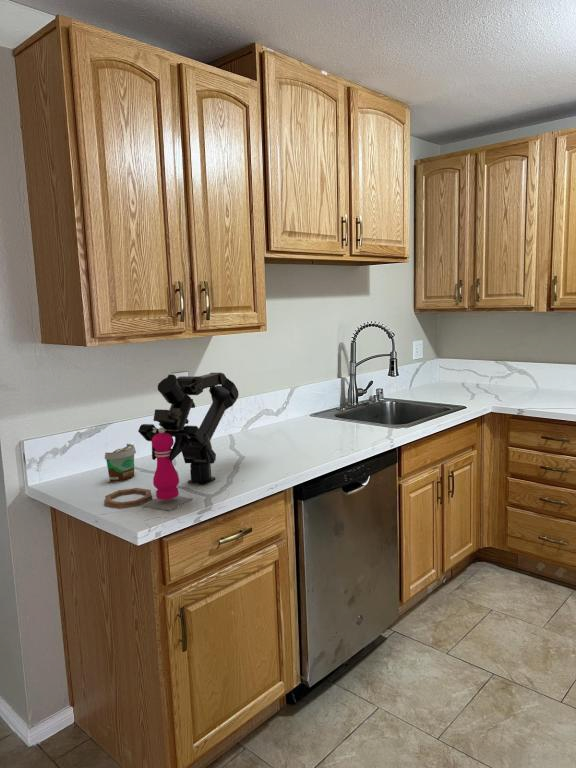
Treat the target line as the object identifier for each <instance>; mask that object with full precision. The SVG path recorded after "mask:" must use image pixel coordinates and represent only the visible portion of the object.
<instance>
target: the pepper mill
mask: <svg viewBox="0 0 576 768" xmlns="http://www.w3.org/2000/svg"><path fill="white" fill-rule="evenodd" d="M158 429H159V430H158V431H159V433H158V434H156V435H155V436H154V437H153V439H152V442H151V447H152V446H153V448H154V449H155V451H154V452H155V456H156V469H155V472H154V476H153V480H152V484H153V486H154V488H156V490H155V497H156V498H158V499H162V500H166V499H172V498H175V497H177V496H180V495H179V488H178V485H179V483H180V476H179V474H178V472H177V469H176V468H175V466H174V463H173V460H172V461H170V460H169V457H170V453H171V450H172V448H173V445H174V442H175V440H174V437H172V436H171V435H170V434H169V433H165V429H164V428H163V427H159V428H158Z"/></svg>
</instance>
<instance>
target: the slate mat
mask: <svg viewBox="0 0 576 768" xmlns="http://www.w3.org/2000/svg"><path fill="white" fill-rule="evenodd" d="M192 499H194V498H193V497H186V496H181V495H178V496H177V497H175V498H172V499H166V500H162V499H158V498H157V497H156V498H155V499H152V500H150V501H148V502H146V503H144V504H141V506H142V507H143V508H148V509H154V508H155V510H160V509H162V510H161V511H166V510H168V511H167V512H172V511H173V509H174V510H175V508H176V509H177V507H178V506H179V507H181V506H183V505H185V504H187V503H189V502H191V501H192ZM190 500H191V501H190ZM188 501H189V502H188ZM186 502H187V503H186ZM184 503H185V504H184ZM182 504H183V505H182ZM180 505H181V506H180ZM179 507H178V508H179ZM171 510H172V511H171Z"/></svg>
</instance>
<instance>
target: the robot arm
mask: <svg viewBox="0 0 576 768" xmlns="http://www.w3.org/2000/svg"><path fill="white" fill-rule="evenodd" d="M208 388H209V390H208V392H209V394H210V395H211V396H210V397H211V400H212V403H211V405H210V407H209V408H208V410H207V412H206V414H205V415H204V416H205V417H204V418H203V420H202V422H201V424H200V426H199V427H198V426H197V425H189V422H190V420H189V419H188V417H189V415H190V413H191V412H190V411H191V409H195V408H196V404H195V402H194V399H193V398H192V397H191V396H199V395H200V394H202V393H203V392H204V390H205V389H208ZM157 391H158V392H159V394H161V396H162V397H163V398H164V400H165V401H166V402H167V403H168V404H170V407H169V409H155V410H154V414H153V420H152V421H154V422H158V425H159V428H161V427H163V428H164V429H165V433H169V434H170V435H171V436H172V437H173V438H174V443H173V446H172V447H171V449H172V450H171V453H170V457H169V460H170V461H172V462H173V460H174V459H175V458H176V457H178V455H179V454H182V457H183V460H184V463H185V464H190V470H189V471H190V479H188V480H187V483H189V484H195V485H203V486H204V485H206V484H208V483H210V482H213V481H215V480H216V477H215V476H212V469H211V466H212V465H211V464H214V463H215V461H216V459H217V454H216V452H215V451H214V450H213V446H212V441H211V440H212V438H213V435H214V434H215V432H216V430H217V427H218V426H219V424H220V421H221V420H222V418H223V416H224V414H225V411H226V410H228V409H230V408H231V407H233V406H234V404H235V403H236V402H237V400H238V398H239V390H238V388H237V386H236V384H235V383H234V382H233V380H230V379H229V378H228V377H227V376H226V375H225V374H224V373H223V372H209V373H208V374H207V373H206V374H203V375H199V376H197V375H196V376H193V375H192V376H190V375H189V376H183V375H181V376H178V377H177V376H176V375H175V374H168V375H167V377H164V378H163V379H162V380H161V381H159V383H158V384H157ZM159 428H157V427H156V426H155V424H153V423H142V424H141V425H140V426H139V429H138V430H137V432H138V433H139V434H140V436H142V438H143V439H144V440H145V441H147V442H150V443H152V439H153V437H154V436H155V435H156V434H158V433H159V431H158V430H159ZM154 451H155V449H154V448H153V446H152V445H151V459H152V461H153V460H154V461H155V460H157V457H156V456H155V452H154Z"/></svg>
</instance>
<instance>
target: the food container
mask: <svg viewBox="0 0 576 768" xmlns="http://www.w3.org/2000/svg"><path fill="white" fill-rule="evenodd" d="M136 453H137V450H136V447H135V445H134V444H131V443H126V446H125V447H122V448H117V449H115V450H114V451H112V452H104V460H105V461H106V466H107V473H108V479H109V482H110V483H117V482H125V480H126V481H129V480H132V479H133V478H134V477H135V455H136ZM131 478H132V479H131Z"/></svg>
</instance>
